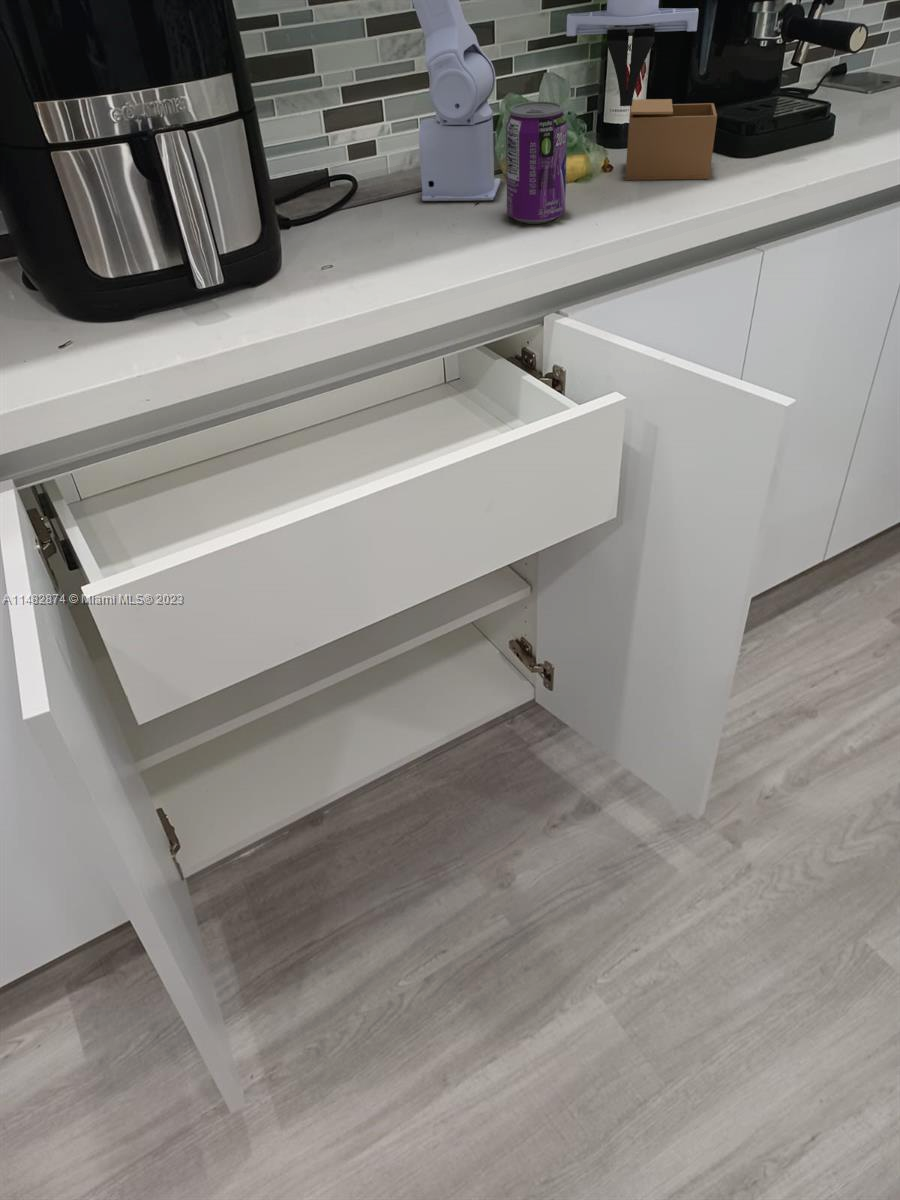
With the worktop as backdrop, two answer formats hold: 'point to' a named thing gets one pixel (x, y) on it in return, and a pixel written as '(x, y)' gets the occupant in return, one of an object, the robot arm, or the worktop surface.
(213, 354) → the worktop surface
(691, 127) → the carton
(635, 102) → the flap
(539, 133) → the beverage can
